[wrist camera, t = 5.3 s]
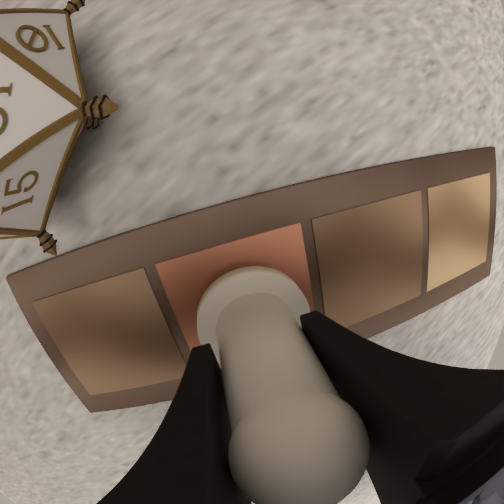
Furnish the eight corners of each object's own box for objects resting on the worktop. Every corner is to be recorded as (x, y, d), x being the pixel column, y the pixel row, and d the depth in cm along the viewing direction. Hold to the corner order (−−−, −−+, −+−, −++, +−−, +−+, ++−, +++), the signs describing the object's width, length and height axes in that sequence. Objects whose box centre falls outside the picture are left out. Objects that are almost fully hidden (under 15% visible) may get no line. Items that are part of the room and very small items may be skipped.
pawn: (310, 340, 13) (396, 495, 5) (215, 368, 13) (245, 545, 5) (294, 252, 11) (433, 420, 4) (181, 284, 11) (178, 503, 3)
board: (486, 273, 17) (490, 275, 16) (91, 409, 14) (90, 413, 14) (491, 146, 13) (496, 147, 13) (8, 275, 10) (4, 278, 10)
